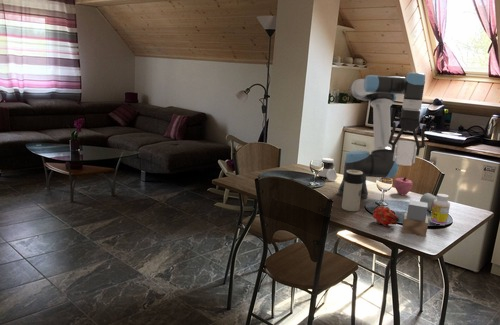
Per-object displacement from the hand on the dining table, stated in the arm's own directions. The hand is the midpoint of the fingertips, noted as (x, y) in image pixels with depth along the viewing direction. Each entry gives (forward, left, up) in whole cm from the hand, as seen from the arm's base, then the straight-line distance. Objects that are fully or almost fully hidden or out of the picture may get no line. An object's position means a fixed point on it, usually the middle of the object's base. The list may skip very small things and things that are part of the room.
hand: (403, 161), depth 184 cm
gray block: (+8, -16, -19) cm, 27 cm away
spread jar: (-40, +50, -26) cm, 69 cm away
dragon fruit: (-4, -15, -26) cm, 30 cm away
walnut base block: (+8, -16, -25) cm, 31 cm away
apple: (+2, +40, -25) cm, 47 cm away
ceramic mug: (+16, +19, -26) cm, 36 cm away
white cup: (0, 0, -1) cm, 1 cm away
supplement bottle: (+18, 0, -25) cm, 31 cm away
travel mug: (-20, -1, -25) cm, 33 cm away
